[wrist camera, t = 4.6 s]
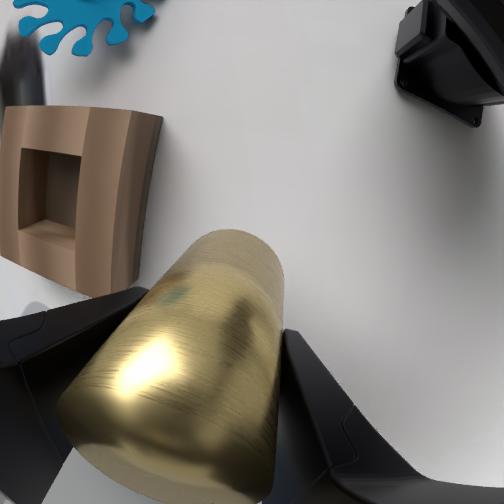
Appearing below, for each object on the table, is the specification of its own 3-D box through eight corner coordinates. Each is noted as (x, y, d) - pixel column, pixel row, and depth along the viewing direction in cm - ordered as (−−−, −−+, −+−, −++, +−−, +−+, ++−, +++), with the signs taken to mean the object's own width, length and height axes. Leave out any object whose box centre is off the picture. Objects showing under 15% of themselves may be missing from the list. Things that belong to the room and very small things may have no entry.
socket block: (163, 116, 16) (131, 110, 12) (138, 278, 20) (110, 304, 16) (42, 107, 16) (6, 106, 13) (32, 239, 20) (0, 255, 17)
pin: (297, 245, 11) (312, 441, 3) (268, 335, 12) (243, 521, 5) (190, 217, 11) (34, 347, 3) (175, 309, 12) (78, 466, 5)
